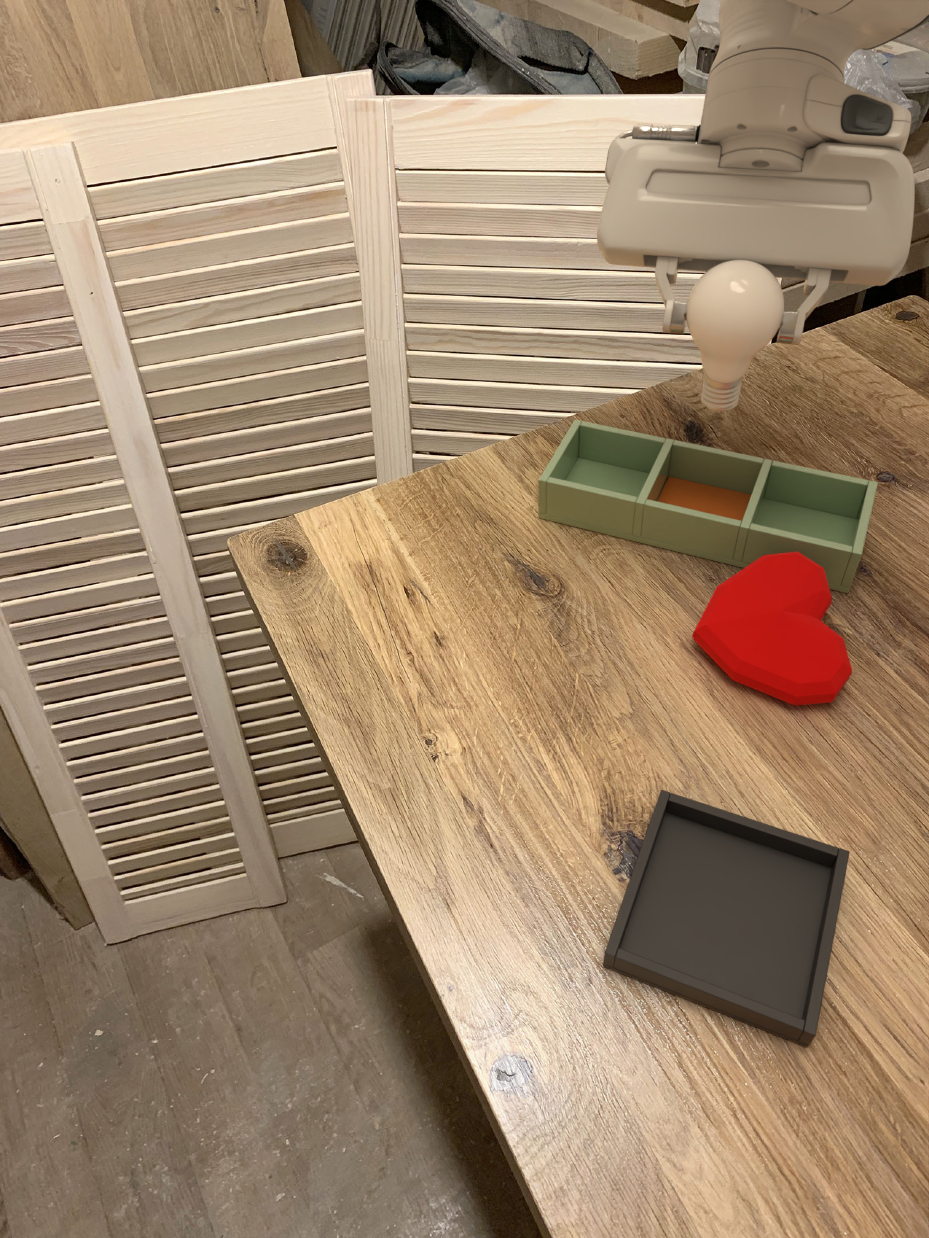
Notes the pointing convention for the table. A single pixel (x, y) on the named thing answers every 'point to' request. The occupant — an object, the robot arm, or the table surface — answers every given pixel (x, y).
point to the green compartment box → (706, 500)
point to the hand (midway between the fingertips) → (730, 337)
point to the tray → (731, 916)
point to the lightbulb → (732, 325)
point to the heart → (776, 630)
